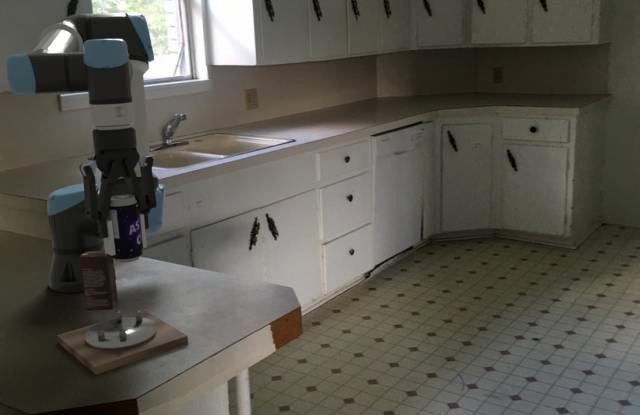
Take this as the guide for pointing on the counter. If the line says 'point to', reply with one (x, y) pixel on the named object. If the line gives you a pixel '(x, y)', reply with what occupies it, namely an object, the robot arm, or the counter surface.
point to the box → (98, 280)
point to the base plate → (110, 360)
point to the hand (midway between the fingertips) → (126, 249)
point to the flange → (121, 332)
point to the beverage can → (125, 228)
